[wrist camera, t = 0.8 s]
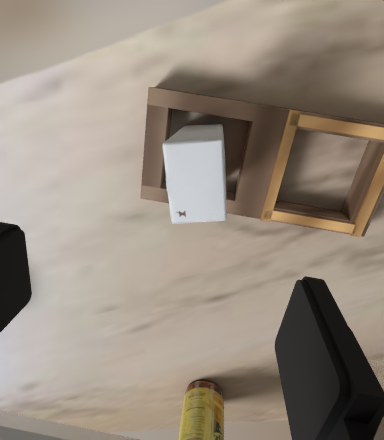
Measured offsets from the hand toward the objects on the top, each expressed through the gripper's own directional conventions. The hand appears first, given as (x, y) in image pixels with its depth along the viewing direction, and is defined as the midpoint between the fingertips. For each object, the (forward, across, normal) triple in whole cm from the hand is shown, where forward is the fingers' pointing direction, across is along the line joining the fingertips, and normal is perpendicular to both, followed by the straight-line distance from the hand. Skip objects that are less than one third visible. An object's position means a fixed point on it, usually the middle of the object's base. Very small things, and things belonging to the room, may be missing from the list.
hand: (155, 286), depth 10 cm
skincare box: (+23, 0, 0) cm, 23 cm away
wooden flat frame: (+23, -6, 0) cm, 24 cm away
